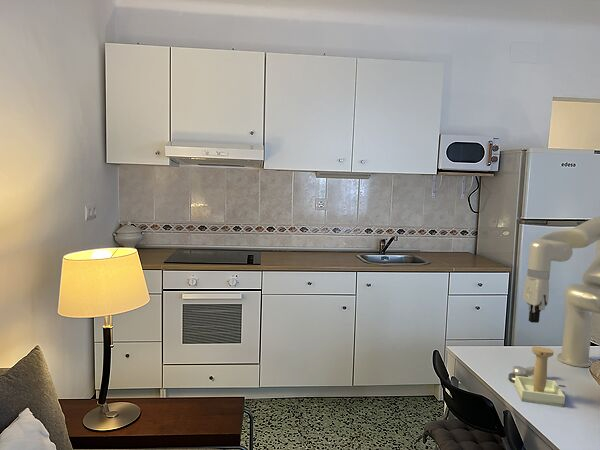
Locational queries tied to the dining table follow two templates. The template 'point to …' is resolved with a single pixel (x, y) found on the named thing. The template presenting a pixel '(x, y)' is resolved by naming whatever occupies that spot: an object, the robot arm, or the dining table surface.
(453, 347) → the dining table surface
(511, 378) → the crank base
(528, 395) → the tray
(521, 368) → the crank
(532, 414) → the dining table surface
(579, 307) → the robot arm
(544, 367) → the handle
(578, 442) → the dining table surface
